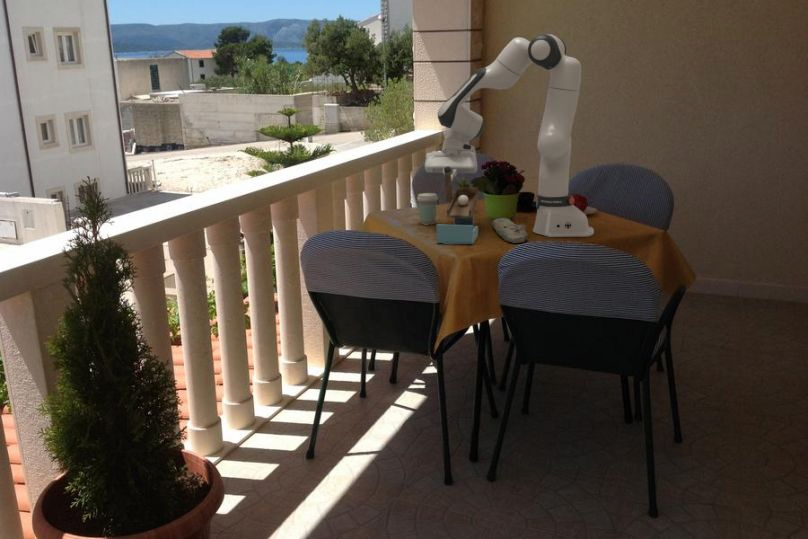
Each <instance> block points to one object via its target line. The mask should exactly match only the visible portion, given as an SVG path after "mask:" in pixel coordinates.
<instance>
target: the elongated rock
mask: <svg viewBox="0 0 808 539" xmlns="http://www.w3.org/2000/svg"><path fill="white" fill-rule="evenodd" d="M491 226H492V229H493V230H495V232H496V234H498V235H499V237H501V239H503V240H504V241H505V242H508V243H512V244H519V243H525V241H527V240H528V235H529V234H528V232H527V231H526V229H527V225H526V224H516V223H515V222H514V221H512V220H510V218H507V217H499V218H495V219H494V220H493V221H492V223H491Z"/></svg>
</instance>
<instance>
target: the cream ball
mask: <svg viewBox="0 0 808 539" xmlns="http://www.w3.org/2000/svg"><path fill="white" fill-rule="evenodd" d="M458 203H459V204H460V205H463V206H464V205H466V204H467V203H468V197H467V196H466V195H461V196H459V198H458Z"/></svg>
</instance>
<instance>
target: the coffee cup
mask: <svg viewBox="0 0 808 539" xmlns="http://www.w3.org/2000/svg"><path fill="white" fill-rule="evenodd" d="M416 200H417V205H418V206H417V207H418V212H419V220H420V224H421V225H422V224H433V223H435V224H436V218H437V217H436V216H437V206H438V201H439V197H438V195H437V193H434V192H424V193H418V194H417V198H416Z"/></svg>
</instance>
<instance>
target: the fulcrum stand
mask: <svg viewBox="0 0 808 539" xmlns="http://www.w3.org/2000/svg"><path fill="white" fill-rule="evenodd" d="M474 212H475V211H474ZM474 212H473V215H472V218H454V225H473V226H474V225H475V224H474V216H475V215H474V214H475V213H474Z"/></svg>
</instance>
